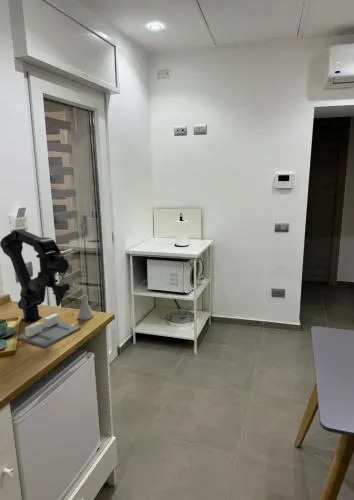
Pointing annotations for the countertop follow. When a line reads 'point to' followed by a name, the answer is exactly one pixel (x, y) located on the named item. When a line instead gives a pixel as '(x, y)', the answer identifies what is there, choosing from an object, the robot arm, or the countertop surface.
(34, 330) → the slider
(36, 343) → the switch panel
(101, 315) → the countertop surface
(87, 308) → the flask
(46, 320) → the slider
